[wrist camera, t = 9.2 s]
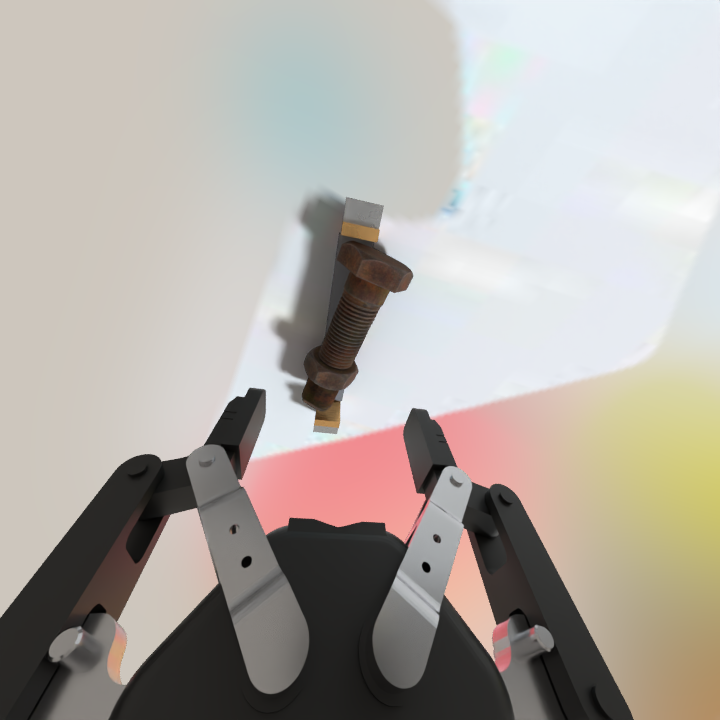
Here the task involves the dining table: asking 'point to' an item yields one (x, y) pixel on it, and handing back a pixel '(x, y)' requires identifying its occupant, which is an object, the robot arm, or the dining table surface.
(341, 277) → the pad
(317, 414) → the small wooden block
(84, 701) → the robot arm
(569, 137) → the dining table surface
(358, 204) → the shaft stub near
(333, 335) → the bolt
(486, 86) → the dining table surface
